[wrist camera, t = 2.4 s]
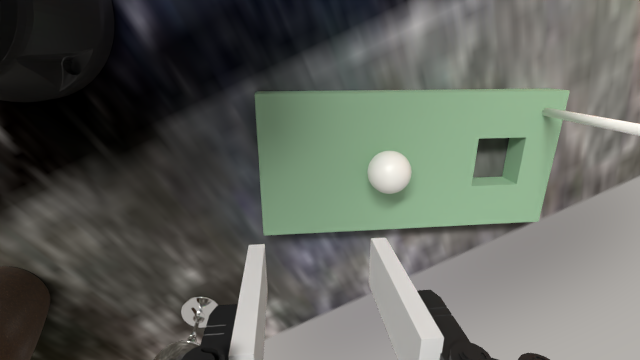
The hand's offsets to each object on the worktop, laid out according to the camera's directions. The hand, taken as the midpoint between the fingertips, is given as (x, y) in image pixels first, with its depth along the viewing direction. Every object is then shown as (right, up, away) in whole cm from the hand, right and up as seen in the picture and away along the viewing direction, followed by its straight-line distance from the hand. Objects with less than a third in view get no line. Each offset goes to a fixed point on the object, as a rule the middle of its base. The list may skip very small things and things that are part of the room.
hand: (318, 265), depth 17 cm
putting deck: (+9, +7, +19) cm, 22 cm away
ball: (+6, +5, +14) cm, 16 cm away
